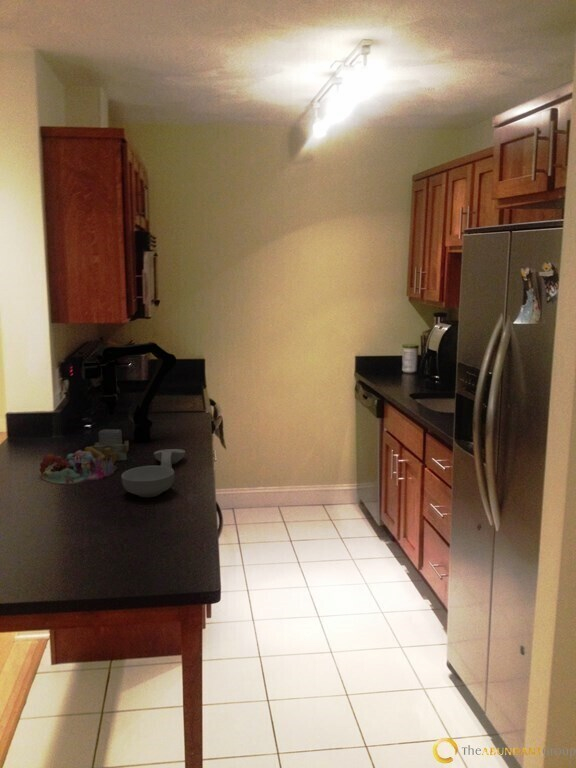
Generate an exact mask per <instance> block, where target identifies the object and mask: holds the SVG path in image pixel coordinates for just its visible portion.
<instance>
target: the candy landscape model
mask: <svg viewBox="0 0 576 768" xmlns="http://www.w3.org/2000/svg"><path fill="white" fill-rule="evenodd" d="M110 452H111V448H109V447H108V448H106V449H105V448H104V455H103V454H102V453H101V452H99V451H97V450H96V449H94V448H92V447H90V446H86V447H85V448H84V450H82V449H79V450H77V451H75V452H74V453H68V454H67V456H66V458H65V460H64V459H63V457H62V456H61V455H57V456H54V454H53V453H47V454H45V455H44V456H43V458H42V461H41V462H40V463H39V466H40V468H39V472H40V479H41V480H42V481H45V482H47V483H50V484H54V485H75V484H76V485H77V484H81V483H82V482H83V483H84V482H86V481H87V482H88V481H96V480H102V479H104V478H107V477H110V476H111V475H113V474H115V471H116V470H118V467H117V466H116V465H115V463H116V461H115V460H116V457H117V452H115V453H110ZM54 463H56V464H55V465H54ZM52 465H53V466H52ZM49 466H52V468H49V469H48V470H46V469H47V468H48V467H49Z"/></svg>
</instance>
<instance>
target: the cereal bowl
mask: <svg viewBox="0 0 576 768" xmlns="http://www.w3.org/2000/svg"><path fill="white" fill-rule="evenodd" d="M174 481H175V470H174V469H173V467H172V468H169V467H166V466H161V465H143V466H137V467H133V468H130V469H128V470H127V469H126V470H125V471H124V472H123V473H122V474H121V483H122V486H123V488H124V489H125V490H126V491H127V493H128V492H129V493H131V494H132V495H135V496H136V495H137V496H138V497H140V498H152V497H157V496H159V495H161V494H162V493H164V492H166V491H168V490H169V489H170V488H171V487H172V485H173V484H174Z"/></svg>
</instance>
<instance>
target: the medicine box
mask: <svg viewBox="0 0 576 768" xmlns="http://www.w3.org/2000/svg"><path fill="white" fill-rule="evenodd" d="M122 432H123V431H122V430H121V429H111V428H109V429H107V428H105V429H101V430H100V431H99V432H98V442H99V446H103V445H121V444H123V436H122Z"/></svg>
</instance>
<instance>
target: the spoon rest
mask: <svg viewBox="0 0 576 768" xmlns="http://www.w3.org/2000/svg"><path fill="white" fill-rule="evenodd" d="M153 456H154V457H155V459H156V460H158V461H159V462H160V466H166V467H169V468H172V469H173V466H172V465H173V464H174V465H175V464H177V463H179V461H181V460H182V459H183V458H184V456H186V451H185V450H184V449H180V448H172V449H171V448H169V449H168V448H167V449H160V450H156V451H154V452H153Z"/></svg>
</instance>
